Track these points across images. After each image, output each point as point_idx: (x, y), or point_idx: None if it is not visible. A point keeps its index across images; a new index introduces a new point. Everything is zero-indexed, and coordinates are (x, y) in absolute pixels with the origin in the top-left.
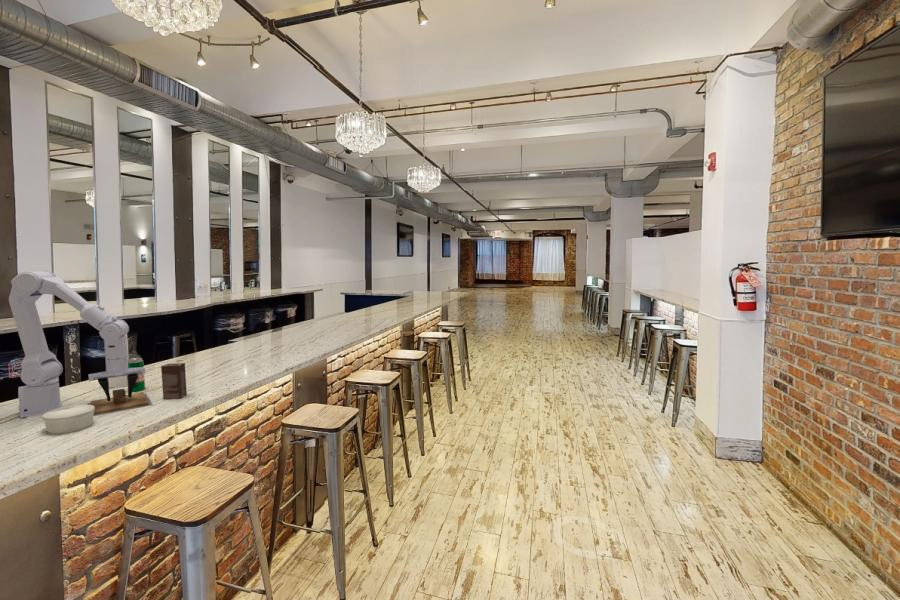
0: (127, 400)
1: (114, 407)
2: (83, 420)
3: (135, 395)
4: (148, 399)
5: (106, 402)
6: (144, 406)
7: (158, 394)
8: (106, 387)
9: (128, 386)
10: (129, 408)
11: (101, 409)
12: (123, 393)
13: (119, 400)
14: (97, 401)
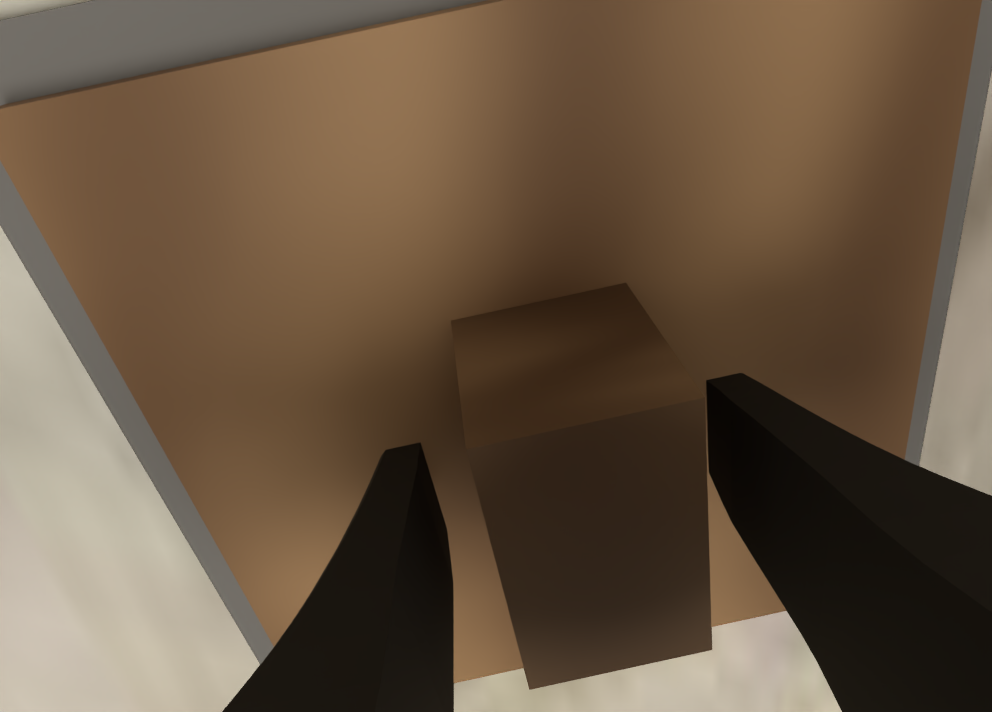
0: (450, 438)
1: (624, 74)
2: None
3: None
4: (155, 457)
5: None
6: (57, 9)
7: (128, 667)
8: (970, 543)
9: (436, 688)
10: (351, 20)
11: (838, 58)
12: (506, 424)
13: (562, 326)
14: None
